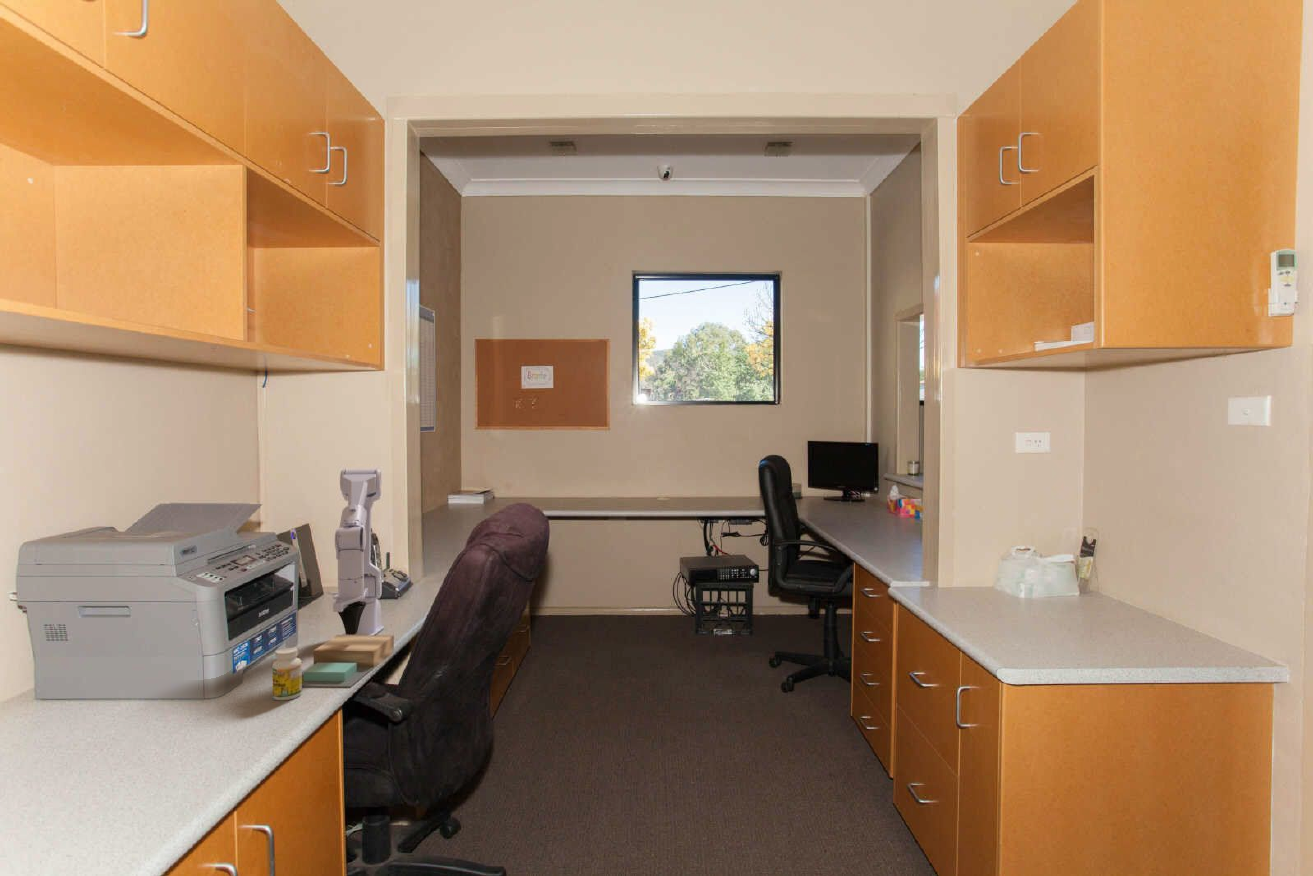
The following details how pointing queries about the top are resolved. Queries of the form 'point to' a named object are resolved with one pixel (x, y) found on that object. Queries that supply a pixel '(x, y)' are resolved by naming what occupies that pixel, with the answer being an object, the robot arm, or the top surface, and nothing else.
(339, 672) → the mint green block
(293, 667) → the supplement bottle
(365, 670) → the mat
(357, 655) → the wooden block
